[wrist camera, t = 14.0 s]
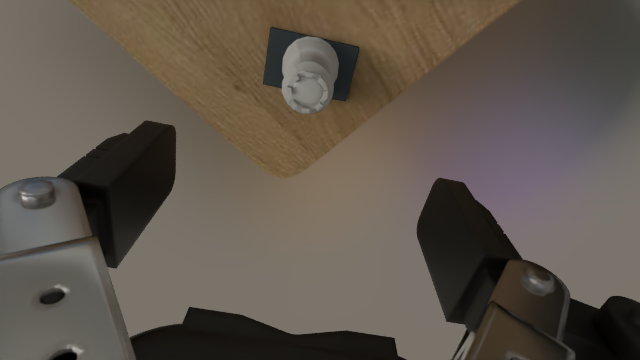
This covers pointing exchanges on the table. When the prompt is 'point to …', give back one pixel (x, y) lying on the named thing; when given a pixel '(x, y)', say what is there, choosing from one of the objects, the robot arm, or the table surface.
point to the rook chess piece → (309, 74)
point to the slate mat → (284, 38)
